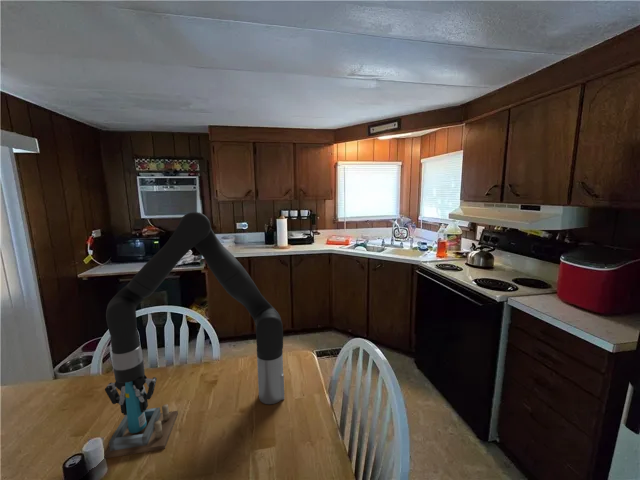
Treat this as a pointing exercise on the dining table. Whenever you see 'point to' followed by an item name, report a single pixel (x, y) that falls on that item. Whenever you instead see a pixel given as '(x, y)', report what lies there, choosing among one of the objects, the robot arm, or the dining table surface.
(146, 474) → the dining table surface
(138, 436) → the socket board
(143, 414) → the tube
